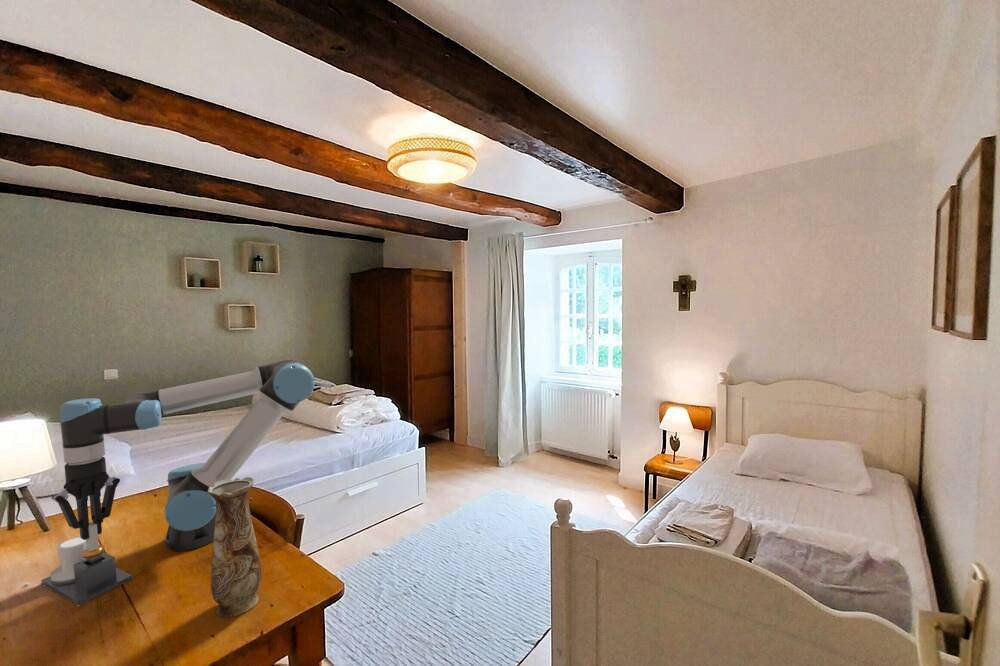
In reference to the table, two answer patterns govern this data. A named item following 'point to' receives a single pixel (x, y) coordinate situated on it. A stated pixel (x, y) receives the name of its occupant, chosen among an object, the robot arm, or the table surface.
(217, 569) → the vase
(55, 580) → the grey rounded flat piece
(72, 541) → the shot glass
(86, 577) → the slotted base stand
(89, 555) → the gold capped peg
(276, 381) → the robot arm
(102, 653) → the table surface
